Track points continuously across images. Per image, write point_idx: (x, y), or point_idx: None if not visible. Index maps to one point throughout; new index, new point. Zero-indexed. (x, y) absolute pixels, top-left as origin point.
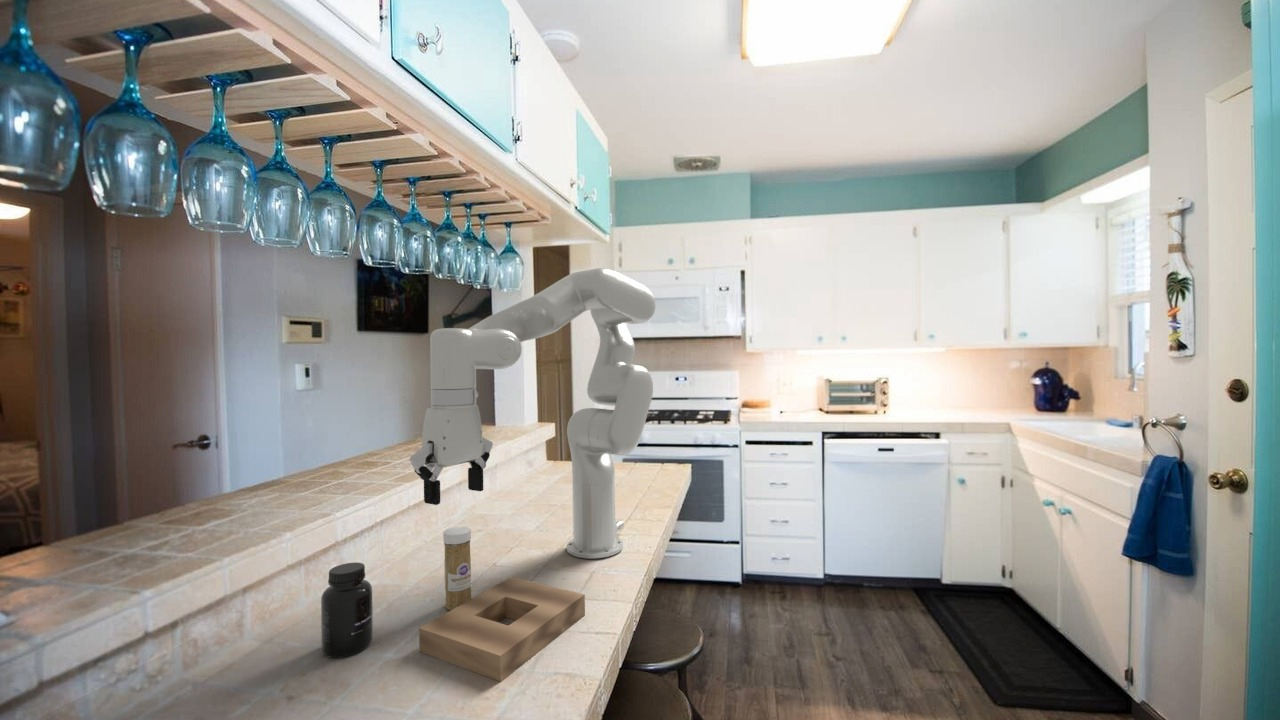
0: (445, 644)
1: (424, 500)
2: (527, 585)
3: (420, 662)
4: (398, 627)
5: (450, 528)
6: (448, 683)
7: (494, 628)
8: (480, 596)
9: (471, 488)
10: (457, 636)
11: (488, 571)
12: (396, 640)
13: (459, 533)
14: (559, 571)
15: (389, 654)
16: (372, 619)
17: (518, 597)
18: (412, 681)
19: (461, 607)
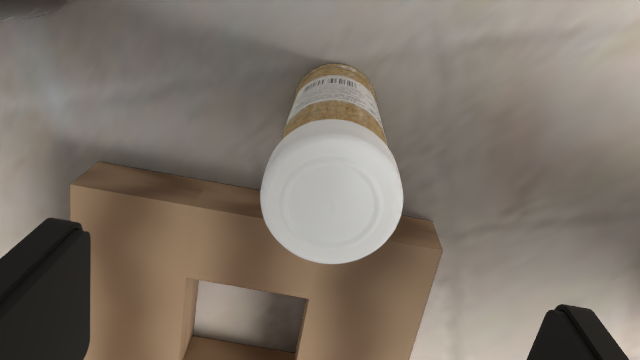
0: None
1: (43, 224)
2: (392, 321)
3: (69, 192)
4: (163, 12)
5: (334, 160)
6: None
7: (153, 352)
8: None
9: (542, 344)
10: None
11: (608, 39)
12: (110, 63)
13: (286, 247)
14: (626, 273)
15: (55, 96)
16: (38, 4)
17: (314, 331)
18: (13, 222)
19: (208, 222)
